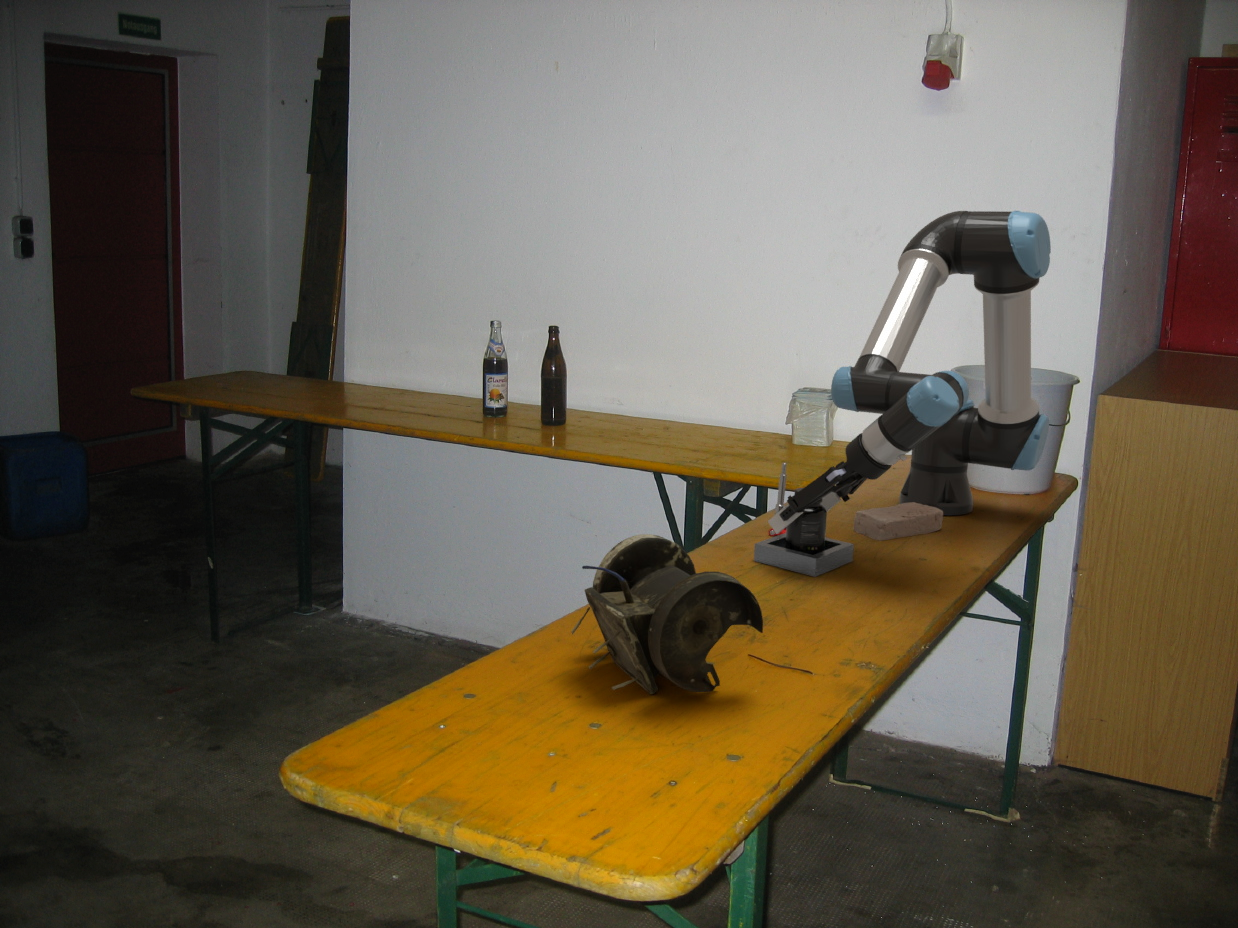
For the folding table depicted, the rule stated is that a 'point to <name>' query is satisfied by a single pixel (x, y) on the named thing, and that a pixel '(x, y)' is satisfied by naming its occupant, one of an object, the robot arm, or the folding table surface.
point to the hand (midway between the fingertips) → (792, 520)
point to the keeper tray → (803, 556)
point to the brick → (898, 521)
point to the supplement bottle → (808, 530)
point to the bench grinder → (664, 612)
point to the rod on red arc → (780, 497)
